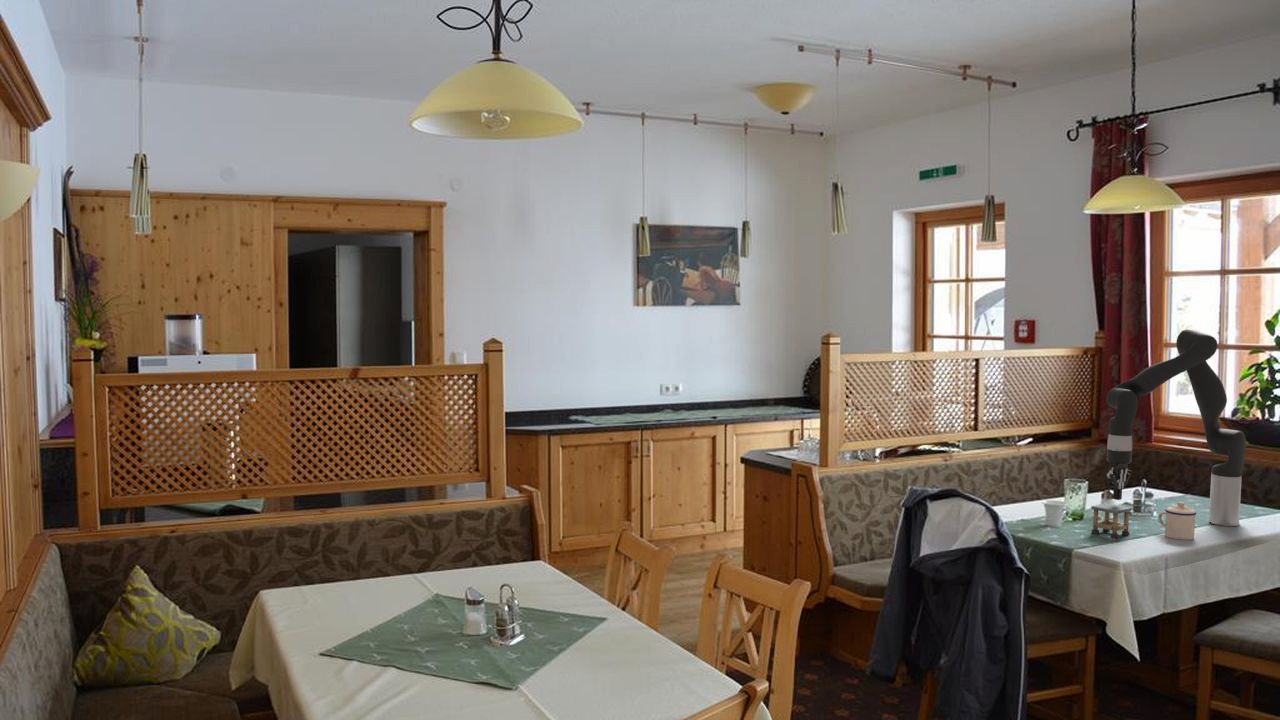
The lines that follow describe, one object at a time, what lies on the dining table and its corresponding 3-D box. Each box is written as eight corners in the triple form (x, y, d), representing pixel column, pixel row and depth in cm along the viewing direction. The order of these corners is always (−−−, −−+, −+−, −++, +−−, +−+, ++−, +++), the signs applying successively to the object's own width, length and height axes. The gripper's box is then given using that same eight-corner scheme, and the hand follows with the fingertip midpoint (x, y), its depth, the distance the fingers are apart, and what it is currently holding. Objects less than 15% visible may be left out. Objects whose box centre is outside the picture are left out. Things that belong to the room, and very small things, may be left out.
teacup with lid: (1200, 538, 338) (1202, 503, 337) (1184, 541, 333) (1186, 506, 332) (1165, 530, 348) (1167, 496, 347) (1150, 533, 343) (1151, 499, 343)
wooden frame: (1106, 503, 348) (1091, 506, 342) (1131, 507, 340) (1117, 511, 335) (1105, 529, 348) (1090, 533, 343) (1130, 535, 341) (1115, 538, 336)
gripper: (1119, 445, 349) (1117, 495, 350) (1097, 448, 341) (1095, 499, 342) (1141, 448, 343) (1138, 499, 344) (1119, 451, 335) (1117, 503, 336)
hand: (1117, 499), depth 343 cm, fingers closed
